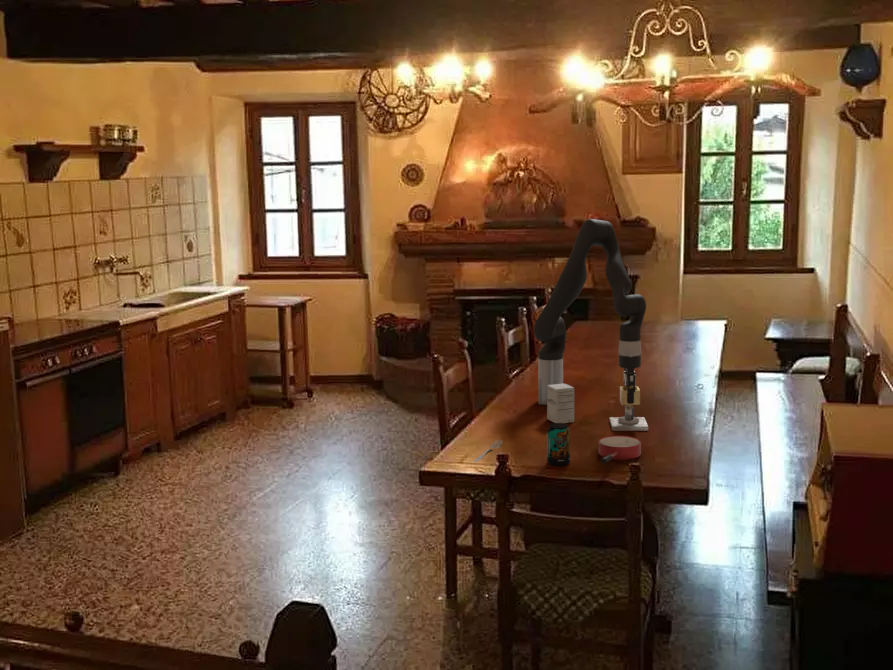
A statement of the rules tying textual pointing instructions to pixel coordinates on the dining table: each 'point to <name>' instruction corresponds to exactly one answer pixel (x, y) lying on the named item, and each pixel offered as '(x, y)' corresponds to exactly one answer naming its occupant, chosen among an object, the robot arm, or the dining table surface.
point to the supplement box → (560, 403)
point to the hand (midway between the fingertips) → (629, 400)
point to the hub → (624, 395)
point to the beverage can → (558, 444)
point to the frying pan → (619, 448)
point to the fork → (488, 450)
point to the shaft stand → (628, 421)
